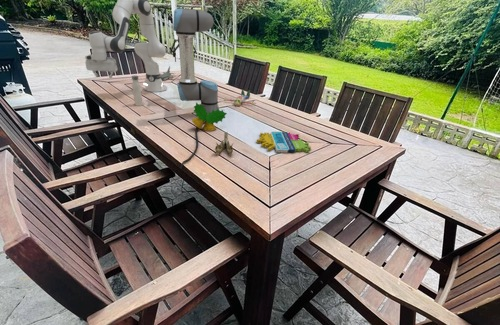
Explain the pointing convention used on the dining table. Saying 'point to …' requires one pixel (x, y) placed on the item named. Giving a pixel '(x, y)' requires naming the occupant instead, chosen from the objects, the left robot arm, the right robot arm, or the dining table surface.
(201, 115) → the ornament
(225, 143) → the jawbone
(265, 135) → the packaged gardening gloves
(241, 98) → the toy
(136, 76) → the cap
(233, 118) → the dining table surface
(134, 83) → the bottle
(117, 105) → the dining table surface
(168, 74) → the airplane
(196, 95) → the right robot arm
